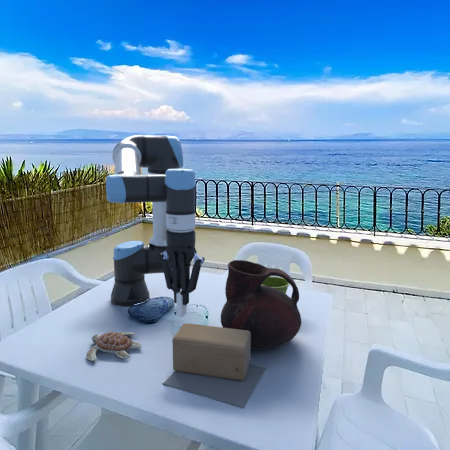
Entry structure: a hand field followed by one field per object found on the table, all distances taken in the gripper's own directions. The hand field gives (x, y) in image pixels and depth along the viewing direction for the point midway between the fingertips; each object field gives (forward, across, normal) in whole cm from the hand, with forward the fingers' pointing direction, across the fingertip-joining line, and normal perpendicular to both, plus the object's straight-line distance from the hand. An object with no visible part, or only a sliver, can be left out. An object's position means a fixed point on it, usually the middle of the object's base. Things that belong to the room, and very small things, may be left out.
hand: (181, 314), depth 100 cm
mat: (+15, +10, 0) cm, 19 cm away
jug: (+16, +15, +23) cm, 32 cm away
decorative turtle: (+16, -24, 0) cm, 29 cm away
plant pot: (+16, +12, +48) cm, 52 cm away
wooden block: (+10, -2, +1) cm, 10 cm away
